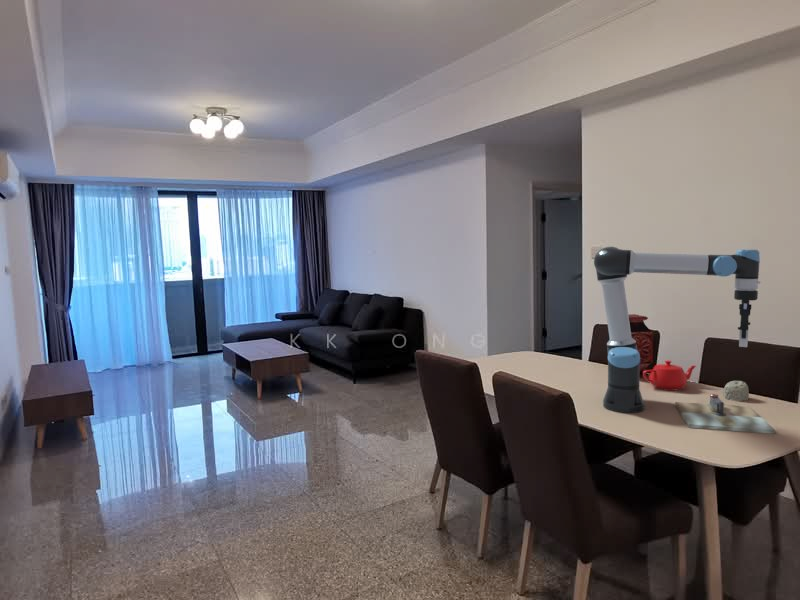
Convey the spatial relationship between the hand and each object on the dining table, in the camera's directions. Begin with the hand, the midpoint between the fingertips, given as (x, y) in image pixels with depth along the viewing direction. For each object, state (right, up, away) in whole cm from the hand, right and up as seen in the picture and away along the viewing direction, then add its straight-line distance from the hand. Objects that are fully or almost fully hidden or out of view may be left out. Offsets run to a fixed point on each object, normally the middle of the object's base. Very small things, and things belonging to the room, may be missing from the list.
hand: (743, 344), depth 204 cm
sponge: (+6, -24, +15) cm, 29 cm away
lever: (-12, -24, -3) cm, 27 cm away
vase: (-18, -21, +58) cm, 64 cm away
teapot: (-11, -23, +34) cm, 43 cm away
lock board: (-15, -27, -10) cm, 32 cm away
